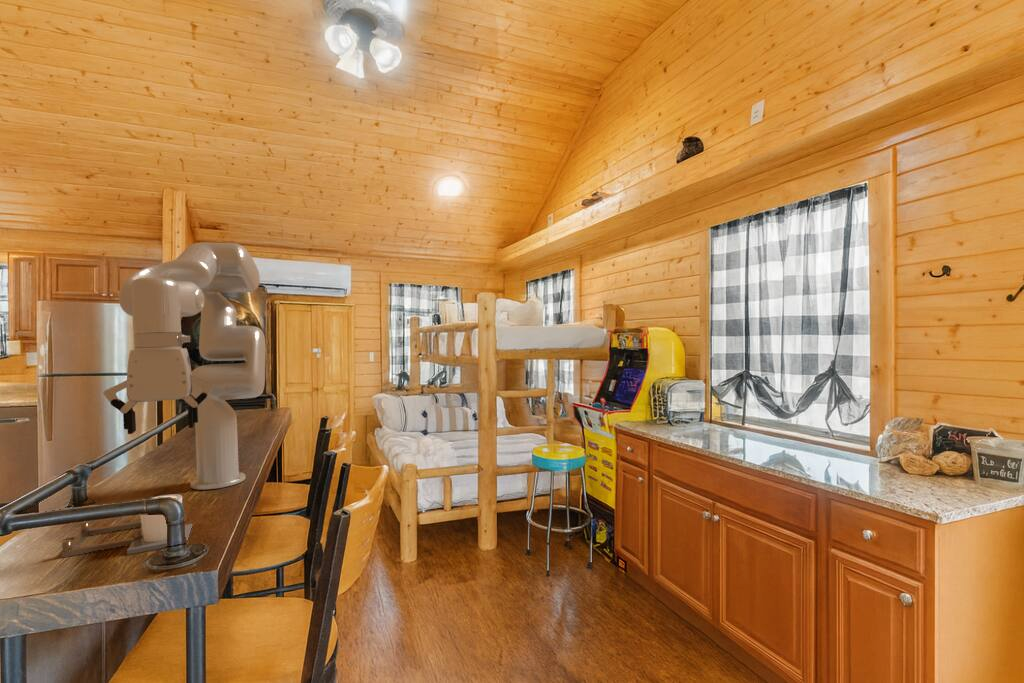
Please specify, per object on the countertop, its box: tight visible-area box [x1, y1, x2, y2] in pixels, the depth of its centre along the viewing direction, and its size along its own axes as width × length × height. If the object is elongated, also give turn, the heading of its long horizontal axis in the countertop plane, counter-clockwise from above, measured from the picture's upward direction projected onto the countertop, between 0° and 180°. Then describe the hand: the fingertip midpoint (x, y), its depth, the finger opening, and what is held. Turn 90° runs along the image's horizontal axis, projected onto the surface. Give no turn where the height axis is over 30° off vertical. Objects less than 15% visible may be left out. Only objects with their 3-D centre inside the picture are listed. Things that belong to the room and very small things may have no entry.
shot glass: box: [139, 493, 183, 542], centre depth 94 cm, size 7×7×7 cm
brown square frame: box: [61, 520, 143, 558], centre depth 95 cm, size 11×11×2 cm
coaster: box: [126, 523, 194, 556], centre depth 94 cm, size 9×9×1 cm
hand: (162, 429), depth 96 cm, fingers open, 9 cm apart
